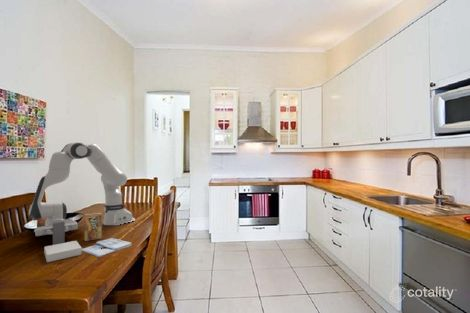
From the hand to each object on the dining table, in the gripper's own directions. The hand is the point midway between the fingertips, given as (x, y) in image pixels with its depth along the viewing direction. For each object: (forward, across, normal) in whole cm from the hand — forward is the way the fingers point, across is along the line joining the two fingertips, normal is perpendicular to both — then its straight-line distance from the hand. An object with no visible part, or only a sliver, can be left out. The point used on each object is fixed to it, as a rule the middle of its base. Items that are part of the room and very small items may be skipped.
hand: (58, 231), depth 137 cm
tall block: (-1, 0, +7) cm, 7 cm away
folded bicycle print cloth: (+22, +19, +8) cm, 30 cm away
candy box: (+2, +17, +8) cm, 19 cm away
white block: (+17, 0, +7) cm, 19 cm away
